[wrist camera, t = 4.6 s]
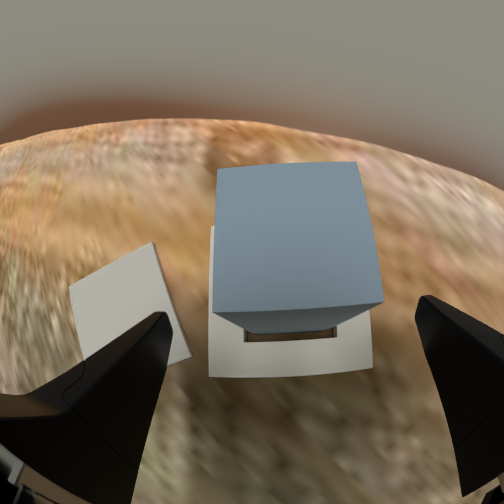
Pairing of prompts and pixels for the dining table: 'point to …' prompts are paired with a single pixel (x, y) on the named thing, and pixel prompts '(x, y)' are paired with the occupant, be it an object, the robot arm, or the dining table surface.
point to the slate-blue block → (293, 247)
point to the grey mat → (124, 302)
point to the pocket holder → (285, 348)
